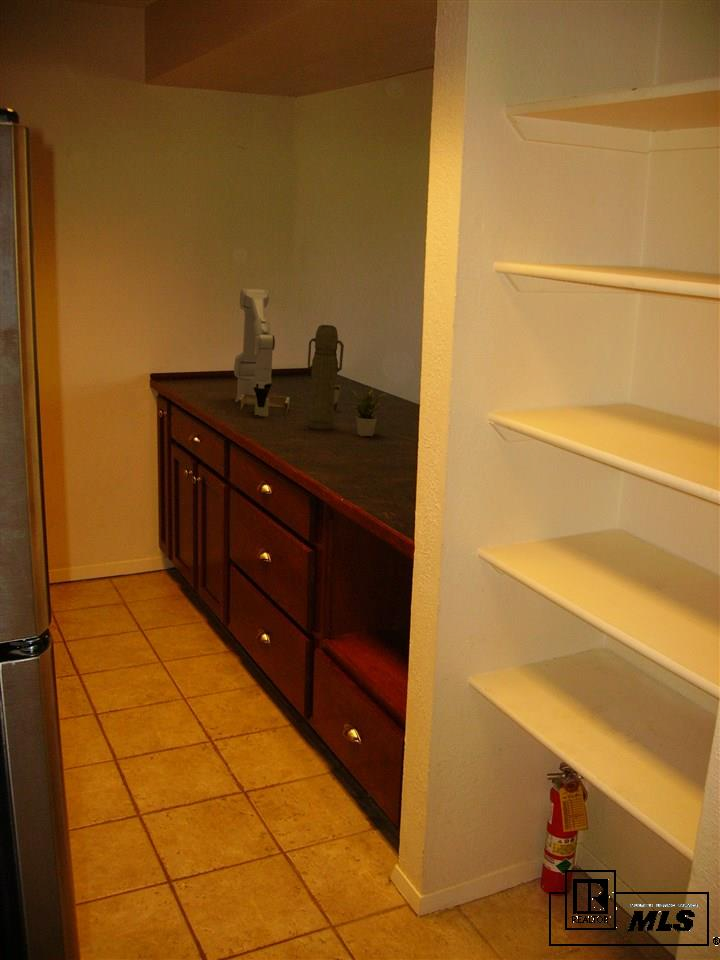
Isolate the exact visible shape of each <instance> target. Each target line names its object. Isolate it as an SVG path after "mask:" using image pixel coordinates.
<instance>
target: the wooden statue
mask: <svg viewBox="0 0 720 960" xmlns="http://www.w3.org/2000/svg"><path fill="white" fill-rule="evenodd" d="M312 342H314V348H315V350H314V351H315V352H314V354H313V358H312V363H311V354H312V353H311V352H312V351H311V350H312ZM338 344H339V346H340V351H339V352H340V354H339V362H338V358H337V356H338V354H337V350H338ZM344 348H345V344H344V343H343V342H342V340H339V334H338V330H337V327H335V326H334V325H330V324H320V325H318V327H317V330H316V332H315V337H314V338H311V339H310V340H309V342H308V353H307V355H308V357H307V369H308V370H310V371H311V375H310V376H311V378H312V381H311V382H312V383H311V384H312V385H311V386H312V387H311V398H310V399H311V401H310V406H309V407H310V408H309V411H308V428H310V429H312V430H315V431H316V430H317V431H331V430H333V429H334V423H335V418H336V417H335V415H336V412H335V411H334V395H335V385H336V380H337V379H338V373H339V372H340V371H342V369H343V359H344Z"/></svg>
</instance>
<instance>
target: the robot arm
mask: <svg viewBox="0 0 720 960" xmlns="http://www.w3.org/2000/svg"><path fill="white" fill-rule="evenodd" d="M239 294H240V296H239V308H240V309H242V310H243V311H244V323H243V325H244V326H243V339H242V340H243V344H242V345H243V346H242V352H241V353H239V354H238V355H236V357H235V358H234V359H235V360H234V365H233V374H234V376H235V377H236V378H237V392H236V393H237V394H236V395H237V396H236V398H235V400H234V402H236V403H238V399H239V398H240V397H241V395H242V394H254V395H256V397H257V404H258V407H262V408H264V406H265V401H266V398H267V396H268V395H269V391H270V389H271V387H272V369H273V351H274V350H275V347H276V338H275V334H274V333H273V332H272V330H271V326H270V325H271V324H270V321H269V320H268V319H267V318H266V312H265V311H266V310H265V308H267V305H269V300H270V297H269V291H268V289H266V288H265V289H262V288H261V289H260V288H245V287H243V288H241V290H240V293H239Z"/></svg>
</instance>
